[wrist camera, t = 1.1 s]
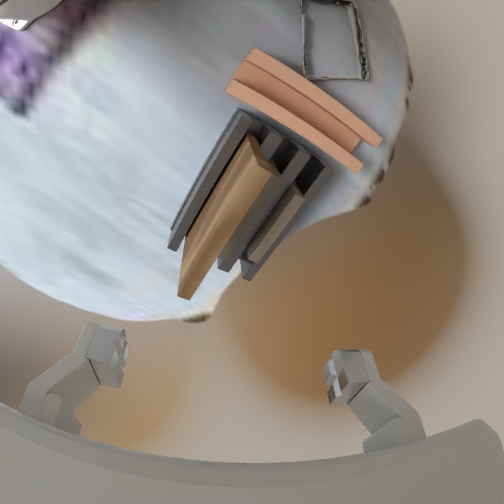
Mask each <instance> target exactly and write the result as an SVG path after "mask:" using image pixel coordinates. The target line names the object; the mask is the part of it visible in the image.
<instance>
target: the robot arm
mask: <svg viewBox="0 0 504 504" xmlns="http://www.w3.org/2000/svg"><path fill="white" fill-rule="evenodd" d="M61 1H62V0H0V22H2V23H4V24H6V25H8V26H9V27H11V28H13V29H15V30H18V31H22V30H24V29H25V28H26V27H27V26H28V25H29V24H30V23H31V22H32V21H33V20H34V19H36V18H37V17H39V16H41V15H43V14H45V13H47V12H48V11H50V10H51V9H53V8H54V7H55V6H56V5H58V4H59V3H60V2H61ZM17 21H18V23H17ZM125 337H126V334H125V330H124V329H119V328H114V327H110V326H105V325H101V324H97V323H92V322H87V323H86V325H85V326H84V329H83V331H82V333H81V335H80V338H79V340H78V342H77V345H76V347H75V350H74V352H73V355H72V354H69V355H67V356H66V357H64V358H63V359H61V360H60V361H59V362H57V363H56V364H55V365H53V366H52V367H51V368H49V369H48V370H46V371H45V372H44V373H42V374H41V375H40V376H38V377H37V378H36V379H34V380H33V381H31V382H30V383H29V384H28V387H27V389H26V392H25V394H24V397H23V400H22V402H21V405H20V408H19V411H16V410H14V409H12V408H10V407H8V406H6V405H4V404H2V403H0V504H504V450H503V447H502V443H501V441H500V438H499V436H498V434H497V433H496V432H495V431H494V430H493V429H492V428H491V427H490V426H489V425H488V424H487V423H485V422H484V421H482V420H480V419H476V420H473V421H471V422H468V423H465V424H463V425H460V426H458V427H455V428H452V429H450V430H447V431H444V432H441V433H438V434H436V435H432V436H429V437H426V435H425V431H424V428H423V425H422V422H421V419H420V416H419V413H418V412H417V411H416V410H415V409H414V408H413V407H412V406H411V405H409V404H408V403H407V402H406V401H405V400H404V399H403V398H402V397H401V396H400V395H399V394H398V393H397V392H395V391H394V390H393V389H392V388H391V387H390V386H389V385H388V384H387V383H386V382H385V381H381V379H380V376H379V373H378V370H377V367H376V364H375V361H374V359H373V356H372V353H371V352H370V350H357V349H356V350H336V351H334V353H333V354H332V358H333V359H331V360H329V361H328V362H327V363H326V365H325V368H324V380H325V383H326V384H327V385H328V386H329V388H328V390H327V394H328V399H329V403H330V405H333V404H334V405H336V404H348V406H349V407H350V409H351V410H352V411H353V412H354V414H355V415H356V416H357V417H358V419H359V420H360V421H361V422H362V423H363V425H364V426H365V427H366V428H367V430H368V431H369V432H370V433H371V436H370V437H368V438H367V439H365V440H364V441H363V443H362V444H363V449H364V453H362V454H356V455H349V456H344V457H336V458H329V459H320V460H310V461H299V462H281V463H232V462H231V463H230V462H214V461H213V462H212V461H201V460H192V459H183V458H175V457H168V456H162V455H156V454H150V453H145V452H140V451H135V450H130V449H125V448H122V447H118V446H114V445H110V444H106V443H102V442H99V441H95V440H92V439H88V438H85V437H82V436H79V434H80V430H81V423H80V421H79V420H78V419H77V418H76V417H75V415H74V414H73V412H74V411H75V410H76V409H77V408H78V407H79V406H80V405H81V404H82V403H83V402H84V401H85V400H86V399H87V398H88V397H89V396H90V395H91V394H92V393H93V392H94V391H95V390H96V389H97V388H98V387H99V386H100V384H102V385H106V386H111V387H116V388H120V386H121V383H122V379H123V375H124V374H123V371H122V368H123V367H124V366H125V365H126V364H127V360H128V352H129V349H128V343H127V341H126V340H125Z"/></svg>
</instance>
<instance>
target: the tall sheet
mask: <svg viewBox="0 0 504 504" xmlns="http://www.w3.org/2000/svg"><path fill="white" fill-rule="evenodd" d="M272 175H273V173H272V171H271V169H270V166H269V164H268V162H267V160H266V158H265V156H264V154H263V152H262V150H261V147H260V145H259V143H258V141H257V139H256V137H255V135H254V134H253V133H251V132H249V131H248V130H247V131H246V133H245V134H244V136H243V137H242V139H241V140H240V142H239V144H238V145H237V147H236V148H235V150H234V152H233V153H232V155H231V157H230V158H229V160H228V162H227V163H226V165H225V166H224V168H223V170H222V171H221V173H220V175H219V177H218V178H217V180H216V182H215V183H214V185H213V187H212V188H211V190H210V192H209V194H208V195H207V197H206V199H205V201H204V202H203V204H202V206H201V208H200V209H199V211H198V213H197V215H196V216H195V218H194V220H193V222H192V224H191V225H190V227H189V229H188V231H187V233H186V237H185V244H184V250H183V257H182V264H181V272H180V279H179V287H178V295H177V296H178V297H181V298H184V299H187V300H189V301H190V299H191V298H192V296H193V294H194V293H195V291H196V290H197V288H198V287H199V285H200V283H201V282H202V280H203V279H204V277H205V276H206V274H207V273H208V271H209V269H210V268H211V266H212V265H213V263H214V262H215V260H216V259H217V257H218V256H219V254H220V253H221V251H222V249H223V248H224V246H225V245H226V243H227V242H228V240H229V239H230V237H231V236H232V234H233V233H234V231H235V230H236V228H237V227H238V225H239V224H240V222H241V221H242V219H243V218H244V216H245V215H246V213H247V212H248V210H249V209H250V207H251V206H252V204H253V203H254V201H255V200H256V198H257V197H258V195H259V194H260V192H261V191H262V189H263V188H264V186H265V185H266V183H267V182H268V180H269V179H270V178H271V176H272Z"/></svg>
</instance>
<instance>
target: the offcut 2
mask: <svg viewBox="0 0 504 504" xmlns="http://www.w3.org/2000/svg"><path fill="white" fill-rule="evenodd" d="M304 201H305V198H304V196H303V195H302V193H301V191H300V190H299V188H298V186H297V184H296V183H295V181H293V182H292V184H291V185H290V186H289V188H288V189H287V191H286V192H285V193H284V195H283V196H282V198H281V199H280V200H279V202H278V203H277V205H276V206H275V207H274V209H273V210H272V212H271V213H270V214H269V216H268V217H267V219H266V220H265V221H264V223H263V224H262V226H261V227H260V228H259V230H258V231H257V233H256V234H255V236H254V237H253V238H252V240H251V241H250V243H249V244H248V245H247V247H246V248H247V254H248V259H249V260H251V261H253V262H256V263H258V262H259V261H260V259H261V258H262V257H263V255H264V254H265V253H266V251H267V250H268V249H269V247H270V246H271V245H272V243H273V242H274V241H275V239H276V238H277V237H278V235H279V234H280V233H281V231H282V230H283V229H284V227H285V226H286V225H287V223H288V222H289V221H290V219H291V218H292V217H293V215H294V214H295V213H296V211H297V210H298V209H299V207H300V206H301V205H302V203H303V202H304Z"/></svg>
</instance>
